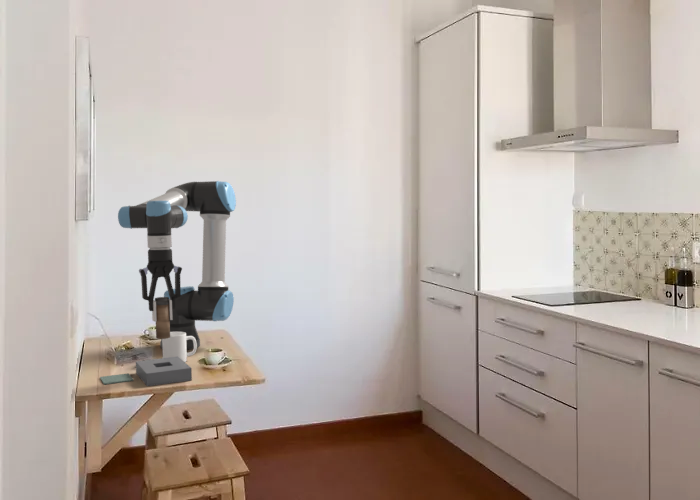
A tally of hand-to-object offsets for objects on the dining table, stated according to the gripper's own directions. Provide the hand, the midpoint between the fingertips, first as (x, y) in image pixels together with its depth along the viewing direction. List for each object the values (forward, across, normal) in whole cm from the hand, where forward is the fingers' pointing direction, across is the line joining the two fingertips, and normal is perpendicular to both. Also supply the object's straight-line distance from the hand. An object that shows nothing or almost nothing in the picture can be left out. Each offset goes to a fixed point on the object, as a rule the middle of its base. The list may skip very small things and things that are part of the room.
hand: (162, 319), depth 222 cm
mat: (+19, -14, +4) cm, 24 cm away
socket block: (+19, 0, 0) cm, 19 cm away
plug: (+6, 0, 0) cm, 6 cm away
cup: (+19, +10, +18) cm, 28 cm away
